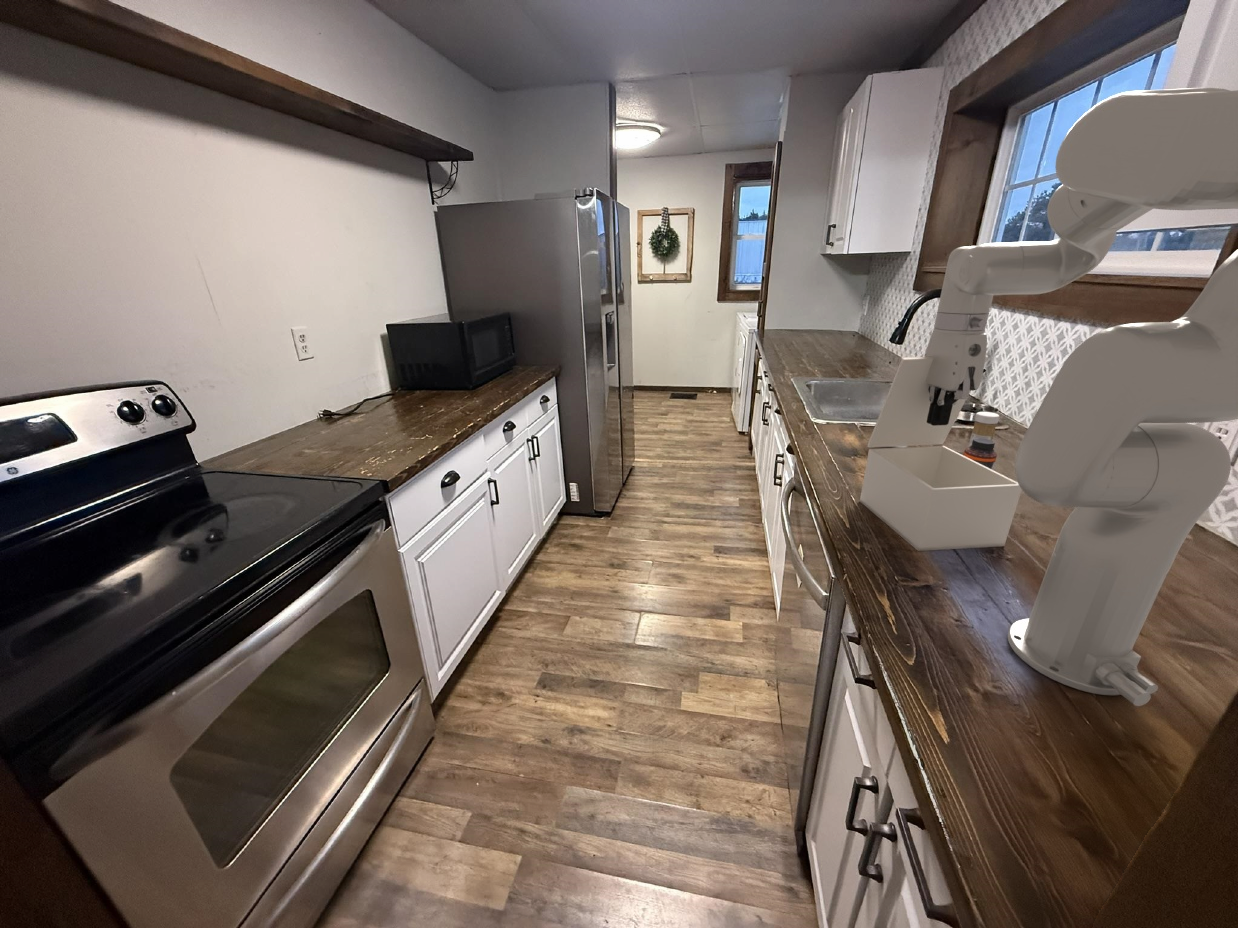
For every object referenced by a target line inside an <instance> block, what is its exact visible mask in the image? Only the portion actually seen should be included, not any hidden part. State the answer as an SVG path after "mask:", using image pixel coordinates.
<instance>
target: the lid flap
mask: <svg viewBox="0 0 1238 928" xmlns="http://www.w3.org/2000/svg"><path fill="white" fill-rule="evenodd" d="M988 358H989V356H988V355H987V354H986V358H985V363H986V362H987V360H988ZM932 361H933V358H932V357H931V356H930V357H924V356H909V357H908V356H907V357H906V356H904V357H900V360H899V362H898V368H897V370H896V373H895V375H894V377H893V380H892V382H891V385H890V388H889V390H888V393H887V395H886V398H885V400H884V402H883V405H882V407H881V410H880V412H879V415H878V417H877V420H876V422H875V425H874V428H873V430H872V433H871V434H870V438H869V440H868V443H867V448H869V449H872V448H893V446H907V447H917V446H939V445H944V443H945V440H946V439H947V437H948V435H949V433H950V431H951V430H952V427H953V426H954V424H955V421H957V418H958V417H959V414H960V413H961V411H962V408H963V406H964V405H965V402H966V401H967V399H959V400H957V402H956V404H955V405H953V406H952V410H951V414H950V419H949V423H948V424H947V425H936V426H933V425H931V424H928V423H927V417H928V412H929V408H930V403H932V402H930V401H929V395H930V393H929V390H928V389H929V386H931V385H930V384H927V383H926V378H927V375H928V372H929V369H930V366H931V364H932ZM970 393H971V390H969V394H970ZM948 394H949V393H948Z"/></svg>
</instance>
